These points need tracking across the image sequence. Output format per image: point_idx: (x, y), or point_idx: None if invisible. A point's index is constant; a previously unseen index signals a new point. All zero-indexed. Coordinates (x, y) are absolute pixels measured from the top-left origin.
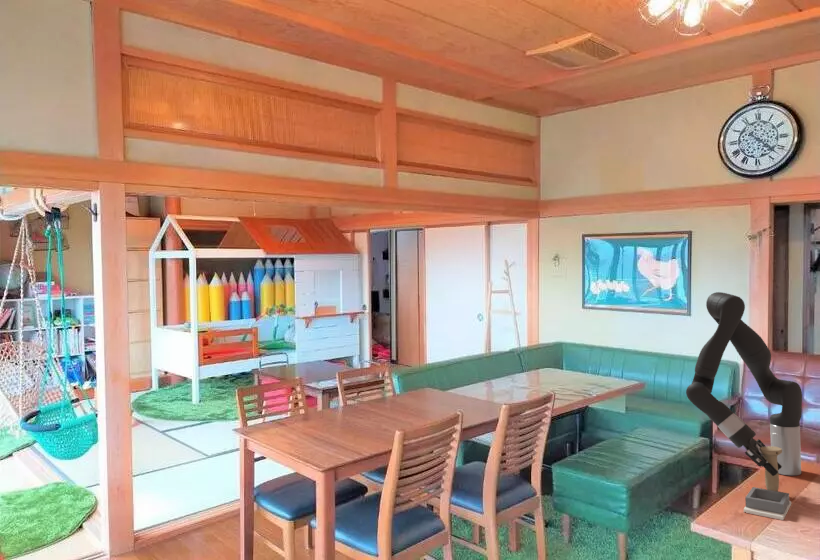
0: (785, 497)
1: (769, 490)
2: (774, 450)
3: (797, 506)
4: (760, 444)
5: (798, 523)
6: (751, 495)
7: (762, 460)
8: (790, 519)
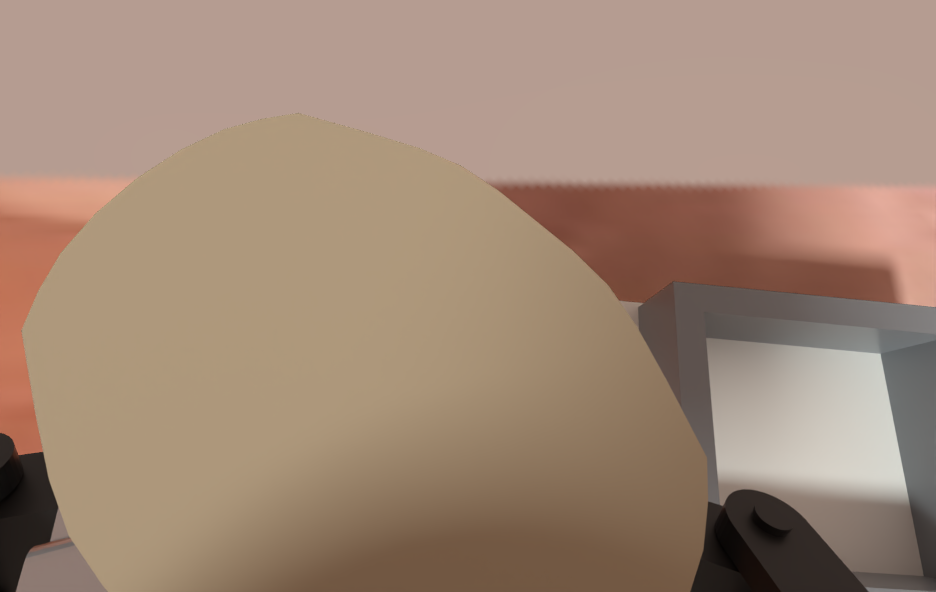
0: (798, 302)
1: (702, 441)
2: (562, 283)
3: (598, 268)
4: None
5: (901, 256)
6: (927, 589)
7: (829, 565)
8: (871, 299)
